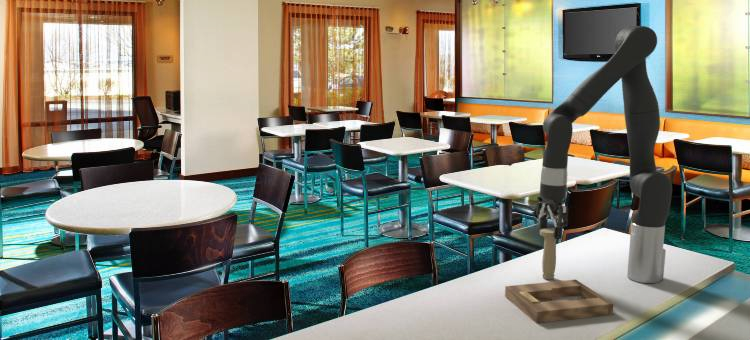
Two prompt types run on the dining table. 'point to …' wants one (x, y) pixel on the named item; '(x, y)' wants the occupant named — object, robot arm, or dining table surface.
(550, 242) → the handle
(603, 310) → the square wooden frame
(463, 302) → the dining table surface
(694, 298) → the dining table surface
